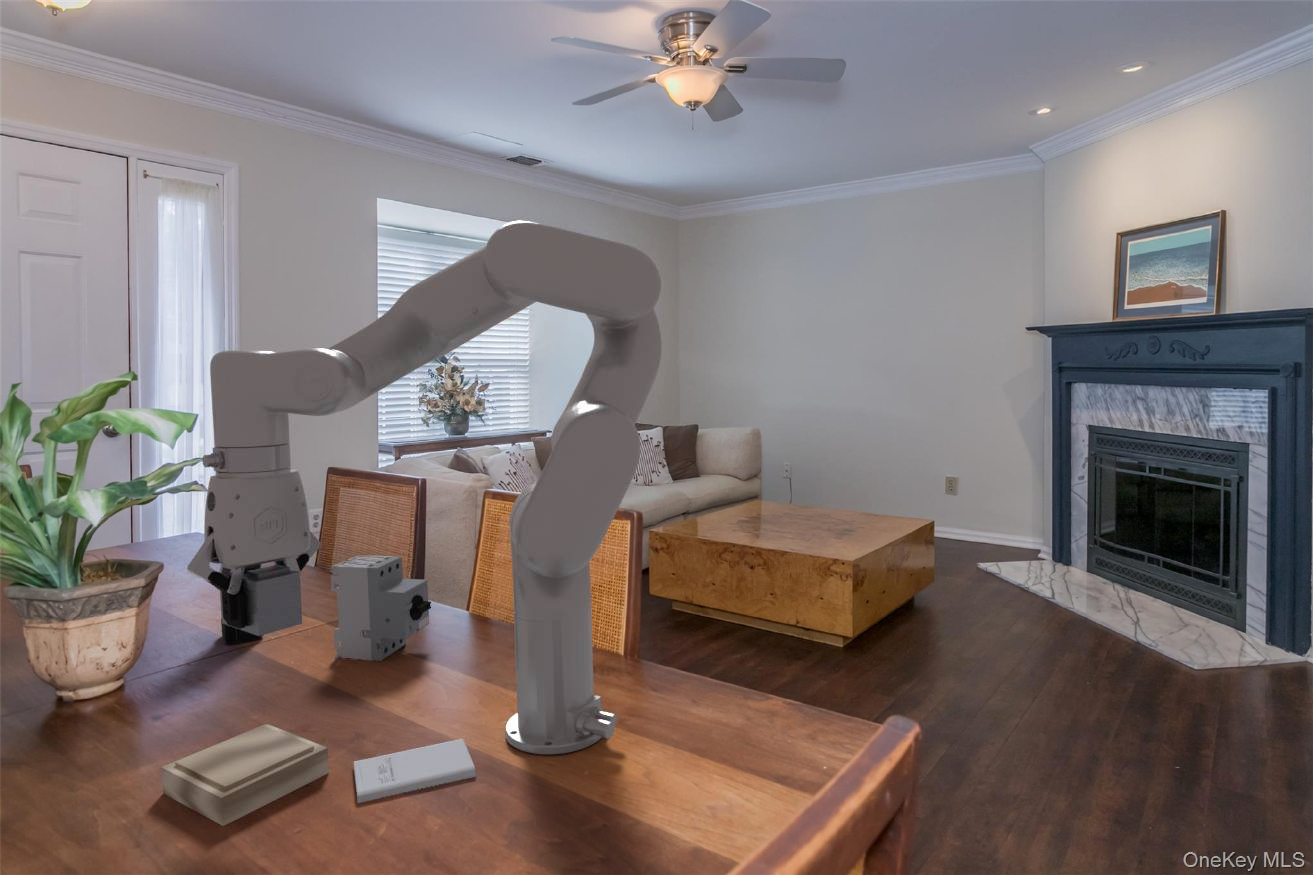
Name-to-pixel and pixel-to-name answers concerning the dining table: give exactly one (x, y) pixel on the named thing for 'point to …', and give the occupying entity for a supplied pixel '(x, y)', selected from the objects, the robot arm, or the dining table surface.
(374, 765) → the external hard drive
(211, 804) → the stand
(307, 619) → the dining table surface
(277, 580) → the housing
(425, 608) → the circuit breaker
